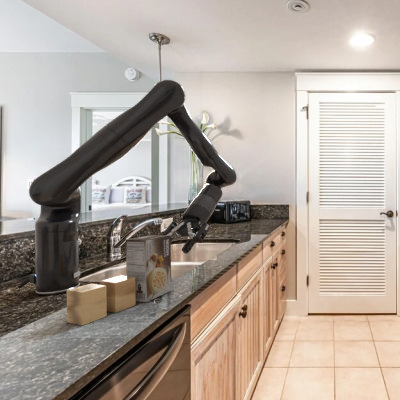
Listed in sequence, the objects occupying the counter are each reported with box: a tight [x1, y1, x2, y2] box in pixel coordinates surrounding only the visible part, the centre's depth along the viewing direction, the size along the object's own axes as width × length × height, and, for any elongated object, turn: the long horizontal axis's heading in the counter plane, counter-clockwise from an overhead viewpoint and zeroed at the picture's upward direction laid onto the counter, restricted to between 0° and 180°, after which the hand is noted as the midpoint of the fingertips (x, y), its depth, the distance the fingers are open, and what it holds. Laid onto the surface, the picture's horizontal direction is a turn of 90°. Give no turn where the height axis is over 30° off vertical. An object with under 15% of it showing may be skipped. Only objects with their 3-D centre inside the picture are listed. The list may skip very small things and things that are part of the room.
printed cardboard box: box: [125, 234, 173, 303], centre depth 79 cm, size 9×6×16 cm
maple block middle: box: [99, 275, 136, 314], centre depth 70 cm, size 5×5×7 cm
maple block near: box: [66, 283, 108, 326], centre depth 64 cm, size 5×5×7 cm
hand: (172, 251), depth 86 cm, fingers open, 8 cm apart
